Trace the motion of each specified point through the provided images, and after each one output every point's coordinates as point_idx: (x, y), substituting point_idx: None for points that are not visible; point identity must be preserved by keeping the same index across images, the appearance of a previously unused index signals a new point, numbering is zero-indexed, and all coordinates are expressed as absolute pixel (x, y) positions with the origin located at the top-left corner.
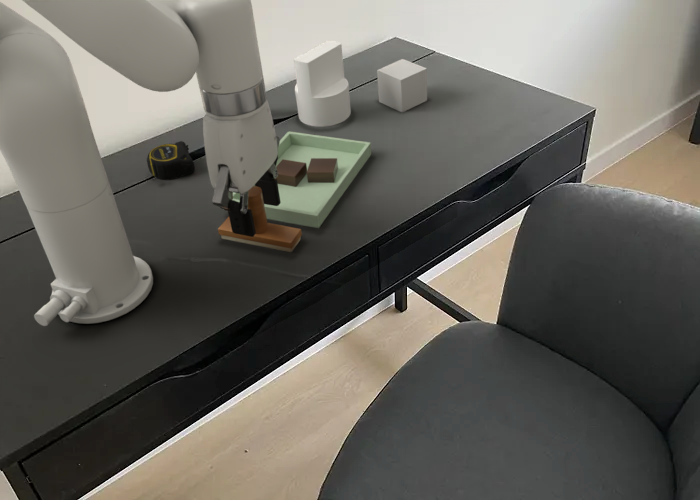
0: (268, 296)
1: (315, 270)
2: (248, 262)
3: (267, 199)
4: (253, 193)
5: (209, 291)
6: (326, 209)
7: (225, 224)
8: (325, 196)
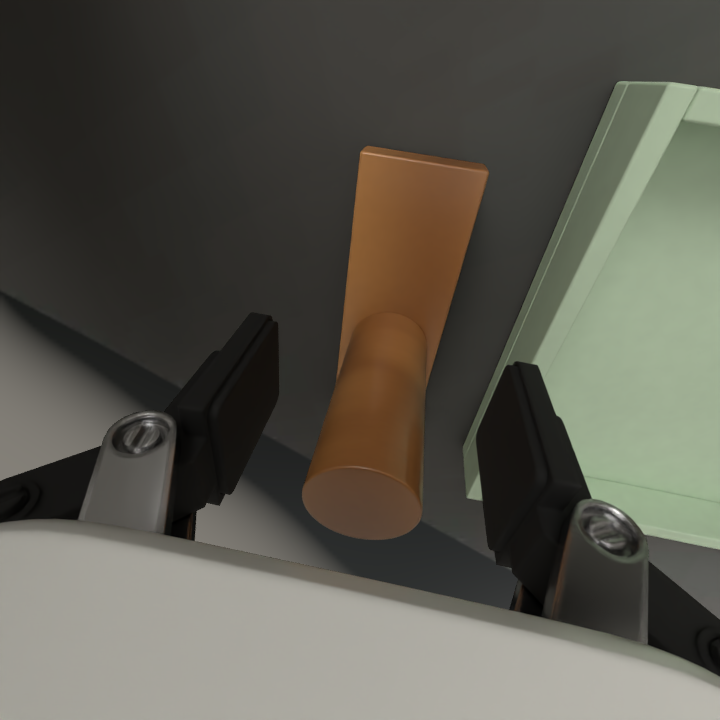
0: (180, 380)
1: (305, 453)
2: (285, 295)
3: (492, 424)
4: (341, 513)
5: (109, 214)
6: None
7: (404, 181)
8: (653, 461)
